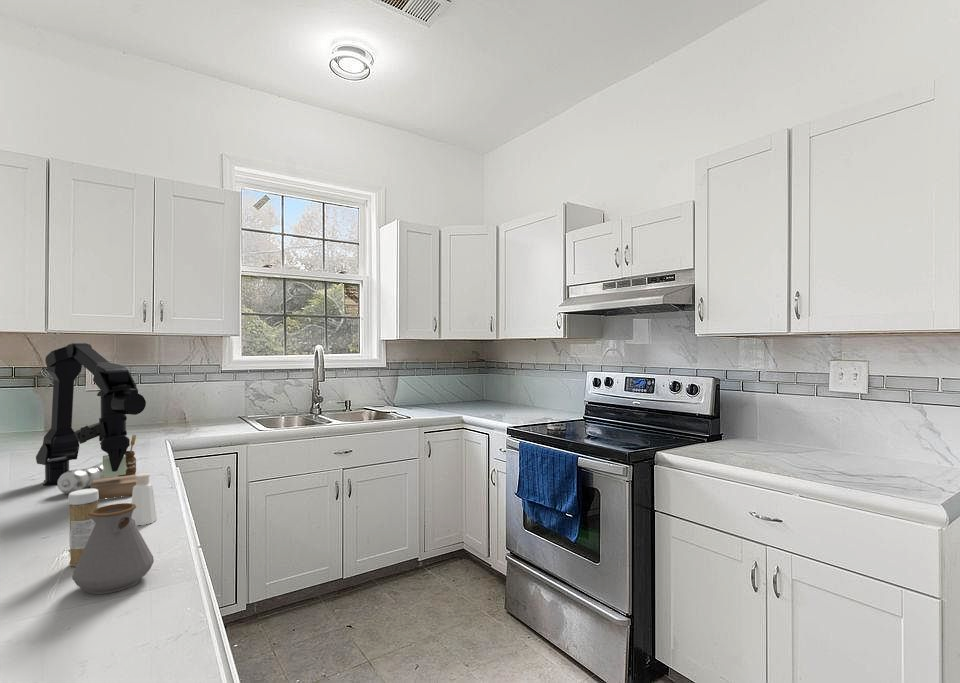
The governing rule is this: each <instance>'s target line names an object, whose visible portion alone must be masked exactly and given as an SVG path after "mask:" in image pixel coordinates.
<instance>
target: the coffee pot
mask: <svg viewBox="0 0 960 683" xmlns="http://www.w3.org/2000/svg"><path fill="white" fill-rule="evenodd" d="M135 508H136V505H135V504H132V503H128V502H124V503H123V502H121V503H114V504H113V503H112V504H108V505H104V506H100V507H98V508H97V509H94V510H92V511H91V512H89V513H88V515H89V516H90V517H91V518H92V519H93V521H94V522H95V523H96V524H95V526H94V528H93V531H92V533H91V535H90V537H89V539H88V541H87V544H86V546H85V548H84V550H83V552H82V555H81V557H80V559H79V561H78V563H77V566H75V568H74V570H73V572H72V580H73V582H74V583H75V585H76V586H77V587H79V588H80V589H82V590H85V591H86V592H87V593H89V594H93V595H103V594H111V593H116V592H120V591H122V590H125V589H128V588H131V587H132V586H135V585H137V584H138V583H139V582H140V581H141V580H142V578H143V577H144V576H146V575H147V573H149V571H150V569H151V568H152V567H153V564H154V562H155V561H154V560H155V559H154V555H153V554H152V552H151V551H150V548H149V547H148V545H147V543H146V542H145V539H144V538H143V535H142V534H141V532H140V530H139V528H138V526H136V525H135V521H134V520H133V519H132V518H131V517H132V513H133V510H134V509H135Z"/></svg>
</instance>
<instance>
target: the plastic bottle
mask: <svg viewBox="0 0 960 683" xmlns="http://www.w3.org/2000/svg"><path fill="white" fill-rule="evenodd" d="M126 469H127V466H126ZM111 477H118V476H110V477H103V461H102V462H100V463H98V464H95V465H92V466H90V467H86V468H82V469H71V470H69V471H68V472H65V473H63V474H62V475H61V476H60V477H59V479H58V482H57V484H56V485H57V489H58V490H59V491H60V492H61V493H64V494H65V495H69V494H70V493H71V492H74V491H77V490H82V489H88V488H89V487H90V488H91V485H92V482H93V480H95V479H103V478H111Z"/></svg>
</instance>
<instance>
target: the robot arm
mask: <svg viewBox="0 0 960 683" xmlns="http://www.w3.org/2000/svg"><path fill="white" fill-rule="evenodd" d="M45 365H46V371H47V373H48V374H49V376H50V378H51V379H52V380H53V384H52V403H51V404H52V405H51V407H52V408H51V424H50V425H51V427H50V429H49V430H48V431H47V433H46V434H45V435H44V436H43V440H42V445H41V447H40V448H39V450H38V451H37V454H36V455H35V461H36V465H43V466H44V477H45V478H44V479H43V483H42V486H49V485H57V482H58V479H59V477H60V476H61V475H62V474H63V473H65V472H68V471H70V461H73V460H78V455H79V451H80V450H79V449H80V444H84V443H87V441H90V440H92V439H95V438H98V441H99V445H100V450H102V451H103V452H104V453H106V454H107V455H108V456H109V460H110V464H111V468H112V471H113V472H115V471H117V470H118V468H119V466H120V463H121V461H122V459H123V457H124V455H125V452H126V451H128V448H129V447H130V446H131V439H130V438H129V436H127V435H128V430H127V415H131V416H136V415H139V414H141V413H142V412H143V411H144V410H145V409H146V406H147V405H146V404H147V401H146V399H145V397H144V395H142V394H140V393H139V389H138V387H137V383H136V381H135V380H134V378H133V377H132V374H131V372H130V370H129V369H128V368H127V367H125V366H123V365H121V364H117V363H114V362H113V363H112V362H111V361H108V360H107V359H106V358H105V357H103V355H101V354H100V353H98V352H97V351H96V350H95V349H94V348H92V345H91V344H90V343H87V342H82V343H81V342H75V343H74V342H72V343H69V344H68V345H66V346H63V347H61V348H57V349H55V350H52V351H50V352H49V353H48V354H47V355H46V356H45ZM83 367H84V368H85V369H86V370H87V371H89V372H90V373H91V374H92V375H93V378H92V381H93V382H94V384H95V385H96V386H97V387H98V389H99V390H100V391H98V392H97V394H96V396H97V397H100V417H99V418H98V422H96V423H93V424H91V425H85V426H83V427H80V429H78V430H74V429H73V427H72V425H73V407H74V390H75V389H74V388H75V380H76V379H77V378H78V376H79V375H80V374H81V373H82V368H83Z"/></svg>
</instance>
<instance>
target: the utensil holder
mask: <svg viewBox="0 0 960 683" xmlns="http://www.w3.org/2000/svg"><path fill="white" fill-rule="evenodd" d="M136 438H137V435H136V434H132V436H131V439H130V446H131V447H130V450H126V452H125V456H126V466H127V469H126V474H125V475H118V476H117V477H119V476H128V475H136V473H137V459H136V456H135V455H136V452H135V451H134V450H133V447H134V446H135V442H136Z"/></svg>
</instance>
